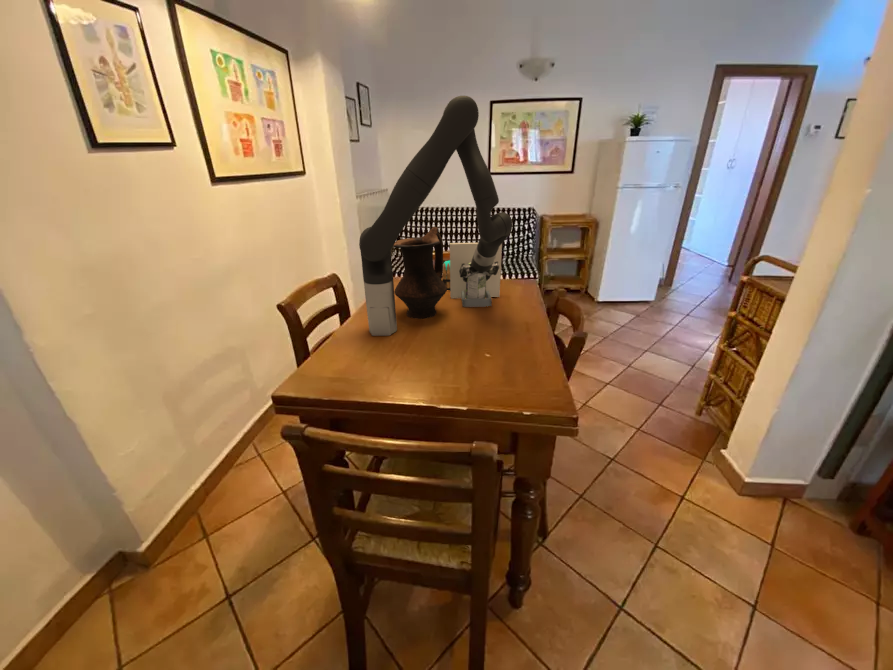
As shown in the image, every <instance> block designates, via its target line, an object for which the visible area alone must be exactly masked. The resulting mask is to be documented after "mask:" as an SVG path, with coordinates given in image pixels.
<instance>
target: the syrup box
mask: <svg viewBox="0 0 893 670" xmlns="http://www.w3.org/2000/svg"><path fill="white" fill-rule="evenodd" d="M469 264H471V263H468V264H467V265H469ZM471 272H472V271H471ZM467 274H468V272H467ZM485 296H486V274H485V273H478V274H474V275H473V276H469V277H468V279H467V282H466V298H465V299H478V298H485Z"/></svg>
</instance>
